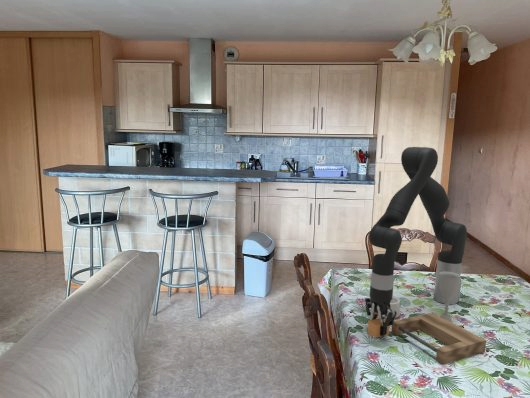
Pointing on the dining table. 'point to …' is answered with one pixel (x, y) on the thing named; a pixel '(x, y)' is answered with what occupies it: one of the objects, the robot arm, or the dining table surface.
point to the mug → (395, 306)
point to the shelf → (442, 336)
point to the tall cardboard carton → (375, 327)
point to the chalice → (448, 289)
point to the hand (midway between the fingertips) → (378, 332)
